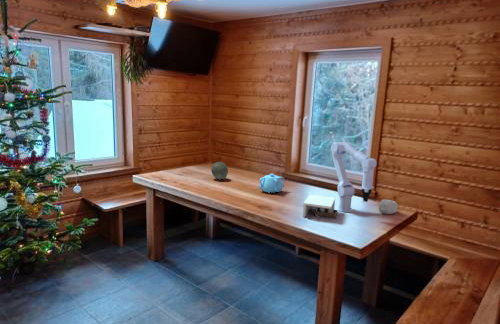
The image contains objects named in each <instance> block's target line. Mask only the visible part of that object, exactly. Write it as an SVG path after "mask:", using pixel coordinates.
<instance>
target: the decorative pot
mask: <svg viewBox="0 0 500 324" xmlns="http://www.w3.org/2000/svg"><path fill="white" fill-rule="evenodd" d="M284 181H285V179H284V177H283V176H279V175H276V174H275V173H269V174H266V175H264V176H263V177H260V178H259V184H260V185H259V186H258V188H259V189H261V191H263V192H265V193H267V192H268V193H267V194H271V193H275V192H279V193H280V192H281V191H282V190H283V188H284V187H285V185H284ZM270 192H271V193H270Z"/></svg>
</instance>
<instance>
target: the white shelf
mask: <svg viewBox="0 0 500 324" xmlns="http://www.w3.org/2000/svg"><path fill="white" fill-rule="evenodd" d="M335 201H336V198H335V197H330V196H324V195H323V196H322V195H314V194H309V195H308V196H307V198H306V199H305V201H304V202H303V204H302V218H306V216H307V214H308V213H309V211H310V210H312V209H313V210H317V208H320V207H322V208H326V209H328V208H329V209H331V208H332V206H334V208H333V210H335V203H336V202H335Z"/></svg>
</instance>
